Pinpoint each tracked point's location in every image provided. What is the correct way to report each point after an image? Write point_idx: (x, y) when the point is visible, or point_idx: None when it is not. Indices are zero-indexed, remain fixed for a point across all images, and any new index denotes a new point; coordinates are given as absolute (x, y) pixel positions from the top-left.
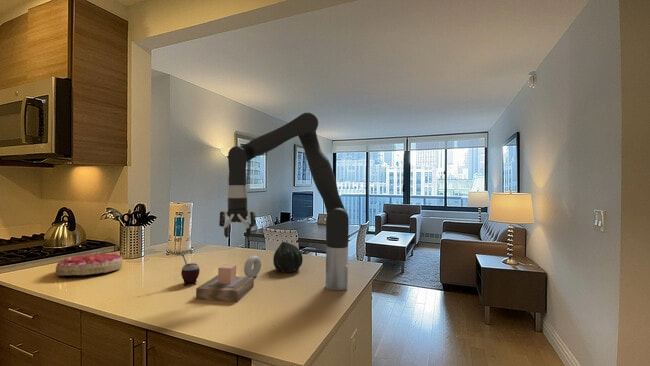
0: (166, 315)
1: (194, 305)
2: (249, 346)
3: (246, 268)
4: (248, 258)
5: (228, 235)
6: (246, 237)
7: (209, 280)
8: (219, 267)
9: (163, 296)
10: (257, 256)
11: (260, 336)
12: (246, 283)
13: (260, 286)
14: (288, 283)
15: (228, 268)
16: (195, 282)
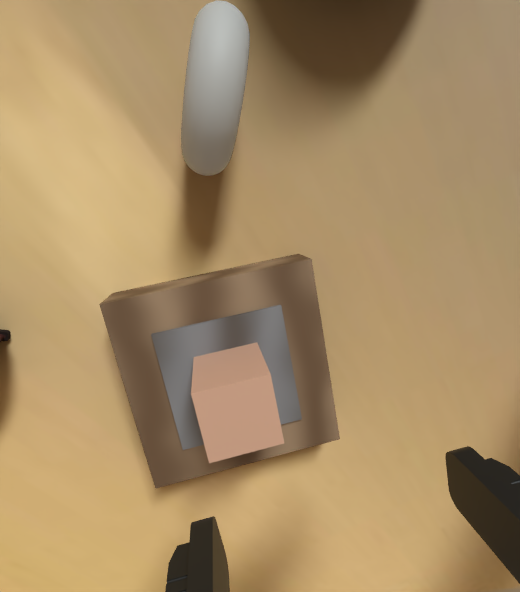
0: None
1: (200, 496)
2: (479, 584)
3: (213, 174)
4: (201, 119)
5: (219, 550)
6: (452, 497)
7: (128, 389)
8: (211, 456)
9: (10, 491)
10: (233, 25)
11: (485, 546)
12: (325, 352)
13: (323, 233)
14: (430, 143)
15: (270, 446)
16: (1, 337)
